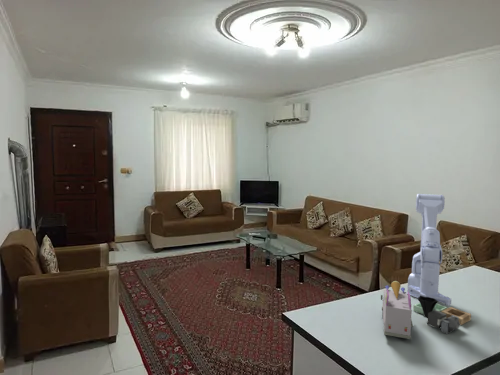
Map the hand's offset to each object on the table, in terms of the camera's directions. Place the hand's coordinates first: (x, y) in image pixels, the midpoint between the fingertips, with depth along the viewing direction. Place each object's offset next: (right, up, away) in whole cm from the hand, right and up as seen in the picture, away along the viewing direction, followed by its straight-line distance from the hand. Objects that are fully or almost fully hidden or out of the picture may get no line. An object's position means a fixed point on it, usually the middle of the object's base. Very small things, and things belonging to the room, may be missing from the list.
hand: (427, 317), depth 121 cm
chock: (+2, -2, -3) cm, 4 cm away
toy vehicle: (-14, -2, -5) cm, 15 cm away
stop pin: (+5, 0, +7) cm, 8 cm away
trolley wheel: (+4, -2, -6) cm, 8 cm away
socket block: (+11, -1, +2) cm, 12 cm away
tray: (+5, -1, +7) cm, 9 cm away
